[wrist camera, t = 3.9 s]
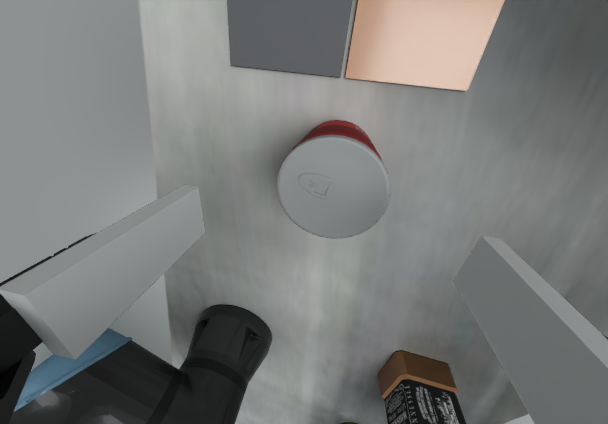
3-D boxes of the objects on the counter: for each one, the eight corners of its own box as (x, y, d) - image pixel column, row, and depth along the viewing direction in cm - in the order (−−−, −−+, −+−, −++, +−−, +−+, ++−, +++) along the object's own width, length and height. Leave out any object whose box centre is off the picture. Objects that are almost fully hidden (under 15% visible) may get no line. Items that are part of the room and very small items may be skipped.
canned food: (304, 115, 23) (275, 129, 14) (381, 123, 22) (407, 143, 13) (300, 182, 27) (274, 230, 17) (365, 191, 26) (376, 247, 16)
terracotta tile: (465, 91, 20) (467, 91, 19) (345, 78, 21) (345, 77, 21) (541, -97, 14) (546, -102, 14) (375, -101, 16) (375, -106, 15)
